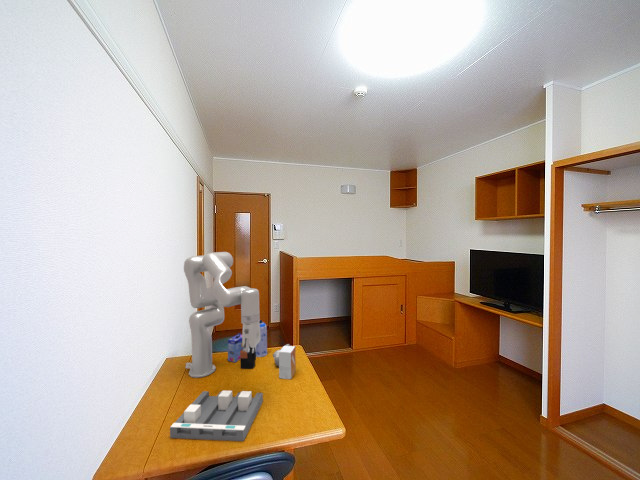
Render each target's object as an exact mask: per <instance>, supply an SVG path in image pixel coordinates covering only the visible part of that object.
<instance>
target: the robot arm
mask: <svg viewBox="0 0 640 480" xmlns="http://www.w3.org/2000/svg"><path fill="white" fill-rule="evenodd" d="M233 264H234V258H233V256H232V254H231V253H230V252H227V251H218V252H217V251H216V252H215V251H214V252H213V251H212V252H209V253H206V254H204V255H195V256H190V257H188V258H186V259H185V261H184V263H183V272H184V276H185V277H186V280H187V284H188V294H189V295H188V296H189V300H190V302H189V303H190V305H191V308H193V309H201V308H204V309H201V310H198V311H195V312H193V313H191V315H190V316H189V317H188V318H189V319H188V323H189V329H190V335H191V337H190V338H191V362H186V363H185V369H189V371H188V376H189V377H191V378H196V379H199V378H203V377H207V376H209V375H211V374H213V373H214V372H215V371H216V365H215V364H213V340H212V339H213V337H212V334H211V333H210V331H209V330H208V329H209V328H212V327H215V326H218V325H221V324H223V322H224V321H225V308H230V307H234V306H237V305H240V313H241V315H240V317H241V318H240V319H241V321H240V322H241V324H242V332H241V333H242V334H241V335H242V344H243V348H245V347H246V349H245V352H247V362H255V363H256V361H257V357H256V345H257V344H258V343H259V342H260V340H261V335H260V323H259V321H260V320H261V319H260V318H261V317H260V316H261V315H260V290H259V289H257V288H251V287H249V286H247V285H244V286H243V285H242V286H236V287H231V288H226V287H225V286H224V285H223V284H225V283H227V282H228V281H229V280H230V279H231V277H232V274H233V271H232V269H231V267H232V266H233ZM204 272H205V273H206V272H207V273H209V275H210V276H211V277H212V279H213V283H212V287H208V286H207V280H206V278H205V276H204V275H203V274H202V273H204ZM206 307H210V308H206Z"/></svg>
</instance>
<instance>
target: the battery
mask: <svg viewBox="0 0 640 480" xmlns="http://www.w3.org/2000/svg"><path fill="white" fill-rule="evenodd" d="M245 349H246V348H243V349H242V351H241V352H240V362H239V363H240V369H241V370H242V369H243V370H246V369H247V370H253V369H254V368H255V366H256V361H255V362H247V352H245Z"/></svg>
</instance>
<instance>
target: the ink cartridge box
mask: <svg viewBox="0 0 640 480" xmlns="http://www.w3.org/2000/svg"><path fill="white" fill-rule="evenodd" d="M241 333H242V332H238V333H237V334H236V335H233V336H232V337H230V338H228V339H227V361H228V362H231V363H237V362H238V361H239V360H240V352H241V351H242V349H243V344H242V334H241ZM245 348H246V347H245Z"/></svg>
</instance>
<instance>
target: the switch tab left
mask: <svg viewBox="0 0 640 480" xmlns="http://www.w3.org/2000/svg"><path fill="white" fill-rule="evenodd" d="M183 413H184V423H192V424H195V423H196V421H197V420H198V419H199V418H200V416H201V405H193V404H192V403H191V404H189V405H188V406H187V408H186V409H185V410H184V411H183Z"/></svg>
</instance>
